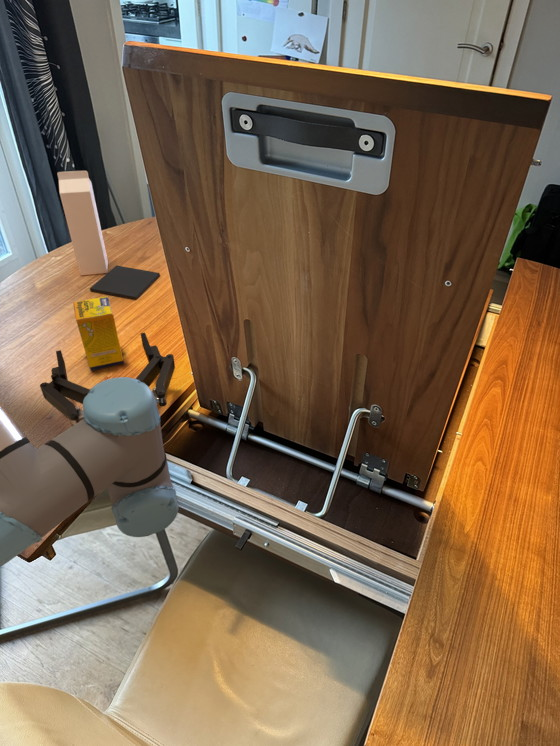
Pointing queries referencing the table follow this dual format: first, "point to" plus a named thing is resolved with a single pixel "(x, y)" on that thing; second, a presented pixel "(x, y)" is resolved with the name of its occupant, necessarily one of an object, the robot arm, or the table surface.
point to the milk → (83, 222)
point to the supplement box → (98, 332)
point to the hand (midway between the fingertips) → (103, 347)
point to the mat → (125, 282)
